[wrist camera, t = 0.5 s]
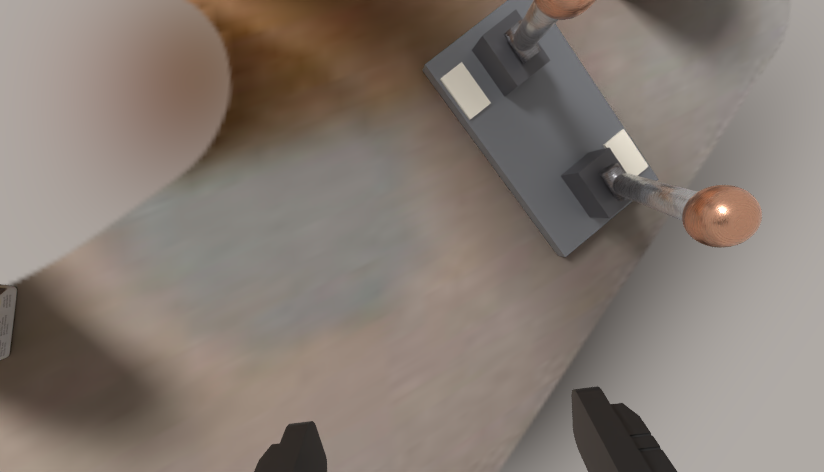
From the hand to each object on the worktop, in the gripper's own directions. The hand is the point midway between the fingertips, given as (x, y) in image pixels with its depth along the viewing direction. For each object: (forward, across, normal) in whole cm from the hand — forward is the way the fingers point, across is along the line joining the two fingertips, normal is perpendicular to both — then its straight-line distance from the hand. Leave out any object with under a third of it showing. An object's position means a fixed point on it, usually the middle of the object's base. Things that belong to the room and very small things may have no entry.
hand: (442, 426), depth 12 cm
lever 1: (+25, -10, -12) cm, 30 cm away
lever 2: (+24, -16, 0) cm, 29 cm away
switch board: (+30, -12, -4) cm, 32 cm away
